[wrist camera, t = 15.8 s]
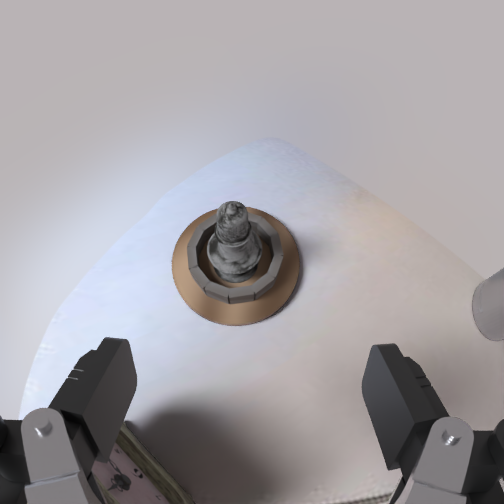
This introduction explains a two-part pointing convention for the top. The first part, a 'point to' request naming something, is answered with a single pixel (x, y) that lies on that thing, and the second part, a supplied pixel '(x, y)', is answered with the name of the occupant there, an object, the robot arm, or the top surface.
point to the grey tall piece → (234, 244)
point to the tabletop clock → (136, 475)
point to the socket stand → (236, 294)
